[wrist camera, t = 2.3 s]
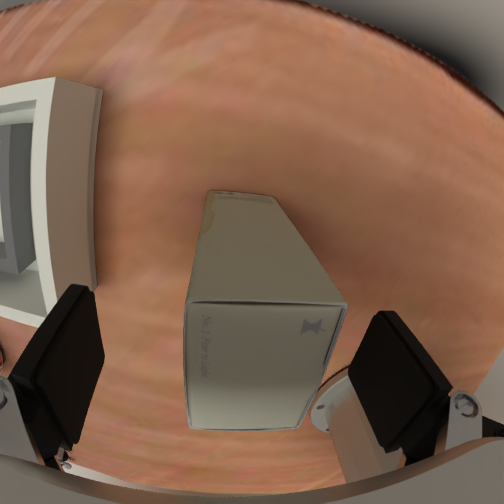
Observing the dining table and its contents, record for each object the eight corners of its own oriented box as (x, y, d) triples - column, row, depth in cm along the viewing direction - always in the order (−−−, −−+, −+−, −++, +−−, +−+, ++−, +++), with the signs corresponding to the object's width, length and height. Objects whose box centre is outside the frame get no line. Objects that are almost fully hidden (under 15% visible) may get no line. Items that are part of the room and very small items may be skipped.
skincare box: (206, 188, 18) (177, 286, 7) (277, 196, 18) (355, 297, 7) (200, 278, 20) (183, 432, 9) (263, 283, 21) (300, 432, 9)
